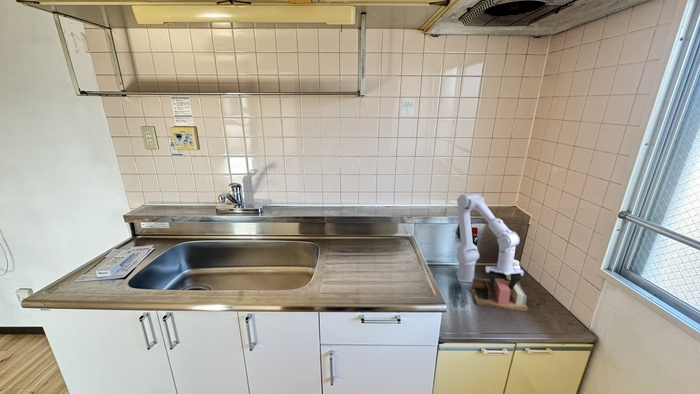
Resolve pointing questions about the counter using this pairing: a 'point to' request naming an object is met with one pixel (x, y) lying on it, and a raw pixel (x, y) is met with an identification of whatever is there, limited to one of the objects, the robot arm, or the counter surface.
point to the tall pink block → (501, 291)
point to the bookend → (483, 292)
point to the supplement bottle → (515, 265)
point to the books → (518, 295)
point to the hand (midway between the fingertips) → (501, 287)
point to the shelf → (492, 300)
